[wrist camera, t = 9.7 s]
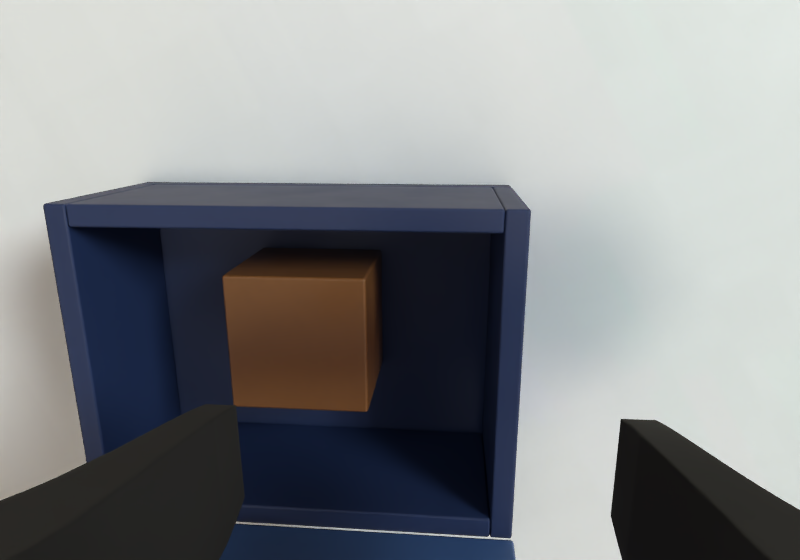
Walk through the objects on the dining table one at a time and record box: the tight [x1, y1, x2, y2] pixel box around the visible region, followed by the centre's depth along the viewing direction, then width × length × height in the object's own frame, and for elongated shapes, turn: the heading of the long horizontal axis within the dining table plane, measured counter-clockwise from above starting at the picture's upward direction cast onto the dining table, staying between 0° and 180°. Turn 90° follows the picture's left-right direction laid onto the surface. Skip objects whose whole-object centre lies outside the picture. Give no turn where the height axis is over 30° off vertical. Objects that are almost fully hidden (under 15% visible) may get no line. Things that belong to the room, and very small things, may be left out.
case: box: [43, 182, 531, 538], centre depth 18 cm, size 9×12×5 cm
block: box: [222, 248, 383, 412], centre depth 18 cm, size 4×4×4 cm
